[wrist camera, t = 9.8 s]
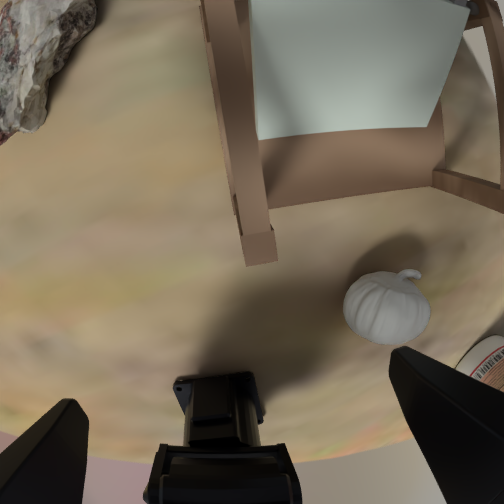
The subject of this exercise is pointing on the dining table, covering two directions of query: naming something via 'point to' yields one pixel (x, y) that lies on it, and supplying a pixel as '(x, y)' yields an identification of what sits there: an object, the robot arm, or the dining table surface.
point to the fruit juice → (486, 362)
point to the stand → (326, 139)
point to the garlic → (386, 307)
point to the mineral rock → (35, 55)
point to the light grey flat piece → (350, 62)
